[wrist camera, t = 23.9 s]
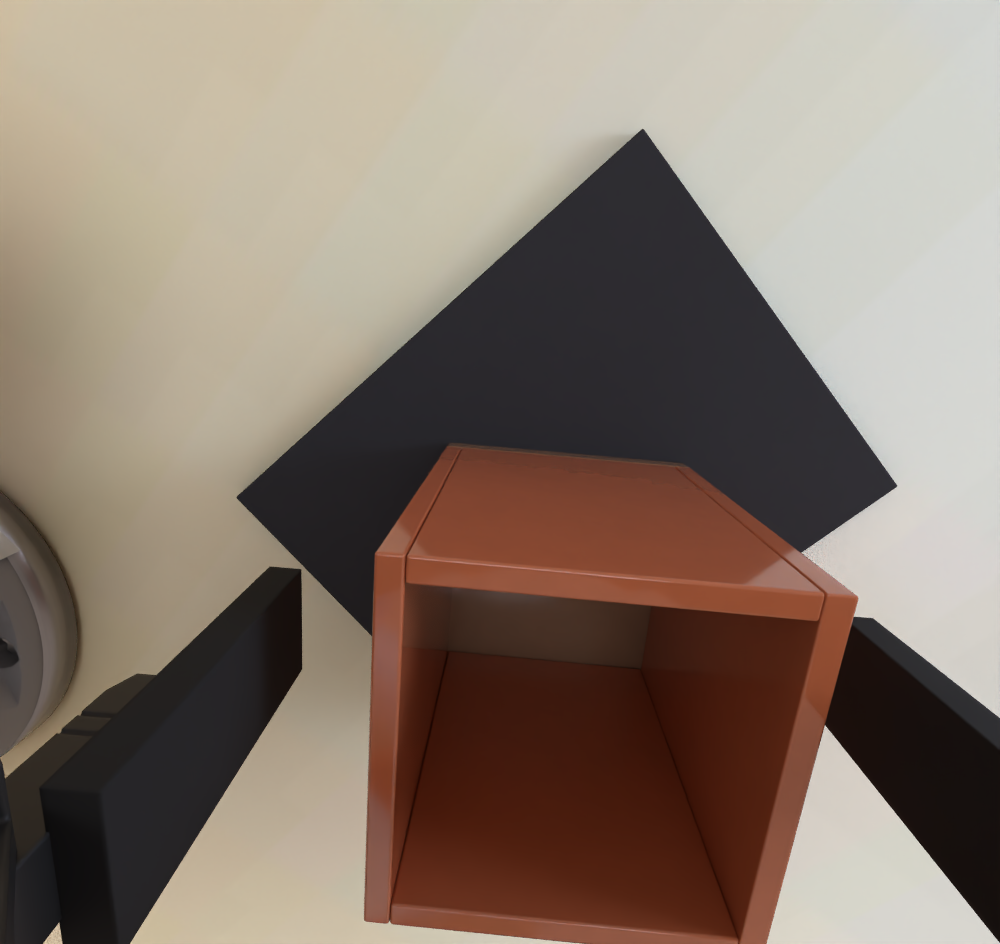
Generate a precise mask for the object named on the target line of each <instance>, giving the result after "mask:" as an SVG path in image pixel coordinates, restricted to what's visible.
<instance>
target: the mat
mask: <svg viewBox="0 0 1000 944" xmlns="http://www.w3.org/2000/svg"><path fill="white" fill-rule="evenodd" d="M449 443H461V444H472V445H484V446H495V447H506V448H517V449H529V450H540V451H551V452H562V453H573V454H585V455H596V456H607V457H618V458H629V459H641V460H652V461H663V462H674V463H683V464H685V465H686V466H687V467H689V468H691V469H692V470H693V471H695V472H696V473H697V474H699V475H700V476H701V477H702V478H704V479H705V480H706V481H708V482H709V483H710V484H712V485H713V486H714V487H716V488H717V489H718V490H719V491H721V492H722V493H723V494H725V495H726V496H727V497H729V498H730V499H731V500H733V501H734V502H735V503H736V504H738V505H739V506H740V507H742V508H743V509H744V510H746V511H747V512H748V513H749V514H751V515H752V516H753V517H755V518H756V519H757V520H759V521H760V522H761V523H763V524H764V525H765V526H766V527H768V528H769V529H770V530H772V531H773V532H774V533H776V534H777V535H778V536H780V537H781V538H782V539H783V540H785V541H786V542H787V543H789V544H790V545H791V546H793V547H794V548H795V549H797V550H798V551H799V552H800V553H801V552H803V551H804V550H806V549H807V548H809V547H810V546H812V545H813V544H814V543H816V542H817V541H819V540H820V539H822V538H823V537H825V536H826V535H828V534H829V533H830V532H832V531H833V530H835V529H836V528H838V527H839V526H841V525H842V524H843V523H845V522H846V521H848V520H849V519H851V518H852V517H854V516H855V515H857V514H858V513H859V512H861V511H862V510H864V509H865V508H867V507H868V506H870V505H871V504H873V503H874V502H875V501H877V500H878V499H880V498H881V497H883V496H884V495H886V494H887V493H889V492H890V491H891V490H893V489H894V488H896V487H897V485H896V483H895V482H894V480H893V479H892V478H891V476H890V475H889V473H888V472H887V471H886V469H885V468H884V466H883V465H882V464H881V462H880V461H879V459H878V458H877V457H876V455H875V454H874V452H873V451H872V450H871V448H870V447H869V445H868V444H867V443H866V441H865V440H864V438H863V437H862V435H861V434H860V433H859V431H858V430H857V428H856V427H855V426H854V424H853V423H852V421H851V420H850V419H849V417H848V416H847V414H846V413H845V412H844V410H843V409H842V407H841V406H840V405H839V403H838V402H837V400H836V399H835V398H834V396H833V395H832V393H831V392H830V391H829V389H828V388H827V386H826V385H825V383H824V382H823V381H822V379H821V378H820V376H819V375H818V374H817V372H816V371H815V369H814V368H813V367H812V365H811V364H810V362H809V361H808V360H807V358H806V357H805V355H804V354H803V353H802V351H801V350H800V348H799V347H798V346H797V344H796V343H795V341H794V340H793V339H792V337H791V336H790V334H789V333H788V331H787V330H786V329H785V327H784V326H783V324H782V323H781V322H780V320H779V319H778V317H777V316H776V315H775V313H774V312H773V310H772V309H771V308H770V306H769V305H768V303H767V302H766V301H765V299H764V298H763V296H762V295H761V294H760V292H759V291H758V289H757V288H756V287H755V285H754V284H753V282H752V281H751V279H750V278H749V277H748V275H747V274H746V272H745V271H744V270H743V268H742V267H741V265H740V264H739V263H738V261H737V260H736V258H735V257H734V256H733V254H732V253H731V251H730V250H729V249H728V247H727V246H726V244H725V243H724V242H723V240H722V239H721V237H720V236H719V235H718V233H717V232H716V230H715V229H714V227H713V226H712V225H711V223H710V222H709V220H708V219H707V218H706V216H705V215H704V213H703V212H702V211H701V209H700V208H699V206H698V205H697V204H696V202H695V201H694V199H693V198H692V197H691V195H690V194H689V192H688V191H687V190H686V188H685V187H684V185H683V184H682V183H681V181H680V180H679V178H678V177H677V175H676V174H675V173H674V171H673V170H672V168H671V167H670V166H669V164H668V163H667V161H666V160H665V159H664V157H663V156H662V154H661V153H660V152H659V150H658V149H657V147H656V146H655V145H654V143H653V142H652V140H651V139H650V138H649V136H648V135H647V133H646V132H645V130H644V129H642V130H641V131H639V132H638V133H637V134H636V135H635V136H634V137H633V138H632V139H631V140H630V141H628V142H627V143H626V144H625V145H624V146H623V147H622V148H621V149H620V150H619V151H617V152H616V153H615V154H614V155H613V156H612V157H611V158H610V159H609V160H608V161H606V162H605V163H604V164H603V165H602V166H601V167H600V168H599V169H598V170H596V171H595V172H594V173H593V174H592V175H591V176H590V177H589V178H588V179H587V180H585V181H584V182H583V183H582V184H581V185H580V186H579V187H578V188H577V189H576V190H574V191H573V192H572V193H571V194H570V195H569V196H568V197H567V198H566V199H565V200H563V201H562V202H561V203H560V204H559V205H558V206H557V207H556V208H555V209H554V210H552V211H551V212H550V213H549V214H548V215H547V216H546V217H545V218H544V219H542V220H541V221H540V222H539V223H538V224H537V225H536V226H535V227H534V228H533V229H531V230H530V231H529V232H528V233H527V234H526V235H525V236H524V237H523V238H522V239H520V240H519V241H518V242H517V243H516V244H515V245H514V246H513V247H512V248H511V249H509V250H508V251H507V252H506V253H505V254H504V255H503V256H502V257H501V258H500V259H498V260H497V261H496V262H495V263H494V264H493V265H492V266H491V267H490V268H488V269H487V270H486V271H485V272H484V273H483V274H482V275H481V276H480V277H479V278H477V279H476V280H475V281H474V282H473V283H472V284H471V285H470V286H469V287H468V288H466V289H465V290H464V291H463V292H462V293H461V294H460V295H459V296H458V297H457V298H455V299H454V300H453V301H452V302H451V303H450V304H449V305H448V306H447V307H446V308H444V309H443V310H442V311H441V312H440V313H439V314H438V315H437V316H436V317H434V318H433V319H432V320H431V321H430V322H429V323H428V324H427V325H426V326H425V327H423V328H422V329H421V330H420V331H419V332H418V333H417V334H416V335H415V336H414V337H412V338H411V339H410V340H409V341H408V342H407V343H406V344H405V345H404V346H403V347H401V348H400V349H399V350H398V351H397V352H396V353H395V354H394V355H393V356H392V357H390V358H389V359H388V360H387V361H386V362H385V363H384V364H383V365H382V366H380V367H379V368H378V369H377V370H376V371H375V372H374V373H373V374H372V375H371V376H369V377H368V378H367V379H366V380H365V381H364V382H363V383H362V384H361V385H360V386H358V387H357V388H356V389H355V390H354V391H353V392H352V393H351V394H350V395H349V396H347V397H346V398H345V399H344V400H343V401H342V402H341V403H340V404H339V405H337V406H336V407H335V408H334V409H333V410H332V411H331V412H330V413H329V414H328V415H326V416H325V417H324V418H323V419H322V420H321V421H320V422H319V423H318V424H317V425H315V426H314V427H313V428H312V429H311V430H310V431H309V432H308V433H307V434H306V435H304V436H303V437H302V438H301V439H300V440H299V441H298V442H297V443H296V444H295V445H293V446H292V447H291V448H290V449H289V450H288V451H287V452H286V453H285V454H283V455H282V456H281V457H280V458H279V459H278V460H277V461H276V462H275V463H274V464H272V465H271V466H270V467H269V468H268V469H267V470H266V471H265V472H264V473H263V474H261V475H260V476H259V477H258V478H257V479H256V480H255V481H254V482H253V483H252V484H250V485H249V486H248V487H247V488H246V489H245V490H244V491H243V492H242V493H241V494H239V495H238V496H237V499H238V500H239V501H240V502H241V503H242V504H243V505H244V506H245V507H246V508H247V509H248V510H249V511H250V512H251V513H252V514H253V515H254V516H255V517H256V518H257V519H258V520H259V521H260V522H261V523H262V524H263V525H264V526H265V527H266V528H267V529H268V530H269V531H270V533H271V534H272V535H273V536H274V537H275V538H276V539H277V540H278V541H279V542H280V543H281V544H282V545H283V546H284V547H285V548H286V549H287V550H288V551H289V552H290V553H291V554H292V555H293V556H294V557H295V558H296V559H297V560H298V561H299V562H300V563H301V564H302V565H303V566H304V567H305V568H306V569H307V570H308V571H309V572H310V573H311V574H312V575H313V576H314V577H315V578H316V579H317V580H318V581H319V583H320V584H321V585H322V586H323V587H324V588H325V589H326V590H327V591H328V592H329V593H330V594H331V595H332V596H333V597H334V598H335V599H336V600H337V601H338V602H339V603H340V604H341V605H342V606H343V607H344V608H345V609H346V610H347V611H348V612H349V613H350V614H351V615H352V616H353V617H354V618H355V619H356V620H357V621H358V622H359V623H360V624H361V625H362V626H363V627H364V628H365V629H366V630H367V631H368V633H369V634H370V635H371V636H372V625H373V591H374V558H375V552H376V551H377V549H378V548H379V546H380V545H381V543H382V542H383V540H384V539H385V537H386V536H387V534H388V533H389V531H390V530H391V528H392V527H393V525H394V524H395V522H396V521H397V519H398V518H399V516H400V515H401V514H402V512H403V511H404V509H405V508H406V506H407V505H408V503H409V502H410V500H411V499H412V497H413V496H414V494H415V493H416V491H417V490H418V488H419V487H420V485H421V484H422V482H423V481H424V479H425V478H426V476H427V475H428V473H429V472H430V470H431V469H432V467H433V466H434V464H435V463H436V461H437V460H438V458H439V457H440V455H441V454H442V452H443V451H444V449H445V448H446V447H447V445H448V444H449Z"/></svg>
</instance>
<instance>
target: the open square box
mask: <svg viewBox="0 0 1000 944" xmlns="http://www.w3.org/2000/svg"><path fill="white" fill-rule="evenodd" d="M857 602H858V596H857V595H855V594H854V593H853V592H851V591H850V590H849V589H847V588H846V587H845V586H844V585H842V584H841V583H840V582H838V581H837V580H836V579H834V578H833V577H832V576H830V575H829V574H828V573H827V572H825V571H824V570H823V569H821V568H820V567H819V566H817V565H816V564H815V563H813V562H812V561H811V560H810V559H808V558H807V557H806V556H804V555H803V554H802V553H800V552H799V551H798V550H797V549H795V548H794V547H793V546H791V545H790V544H789V543H787V542H786V541H785V540H783V539H782V538H781V537H780V536H778V535H777V534H776V533H774V532H773V531H772V530H770V529H769V528H768V527H766V526H765V525H764V524H763V523H761V522H760V521H759V520H757V519H756V518H755V517H753V516H752V515H751V514H749V513H748V512H747V511H746V510H744V509H743V508H742V507H740V506H739V505H738V504H736V503H735V502H734V501H733V500H731V499H730V498H729V497H727V496H726V495H725V494H723V493H722V492H721V491H719V490H718V489H717V488H716V487H714V486H713V485H712V484H710V483H709V482H708V481H706V480H705V479H704V478H702V477H701V476H700V475H699V474H697V473H696V472H695V471H693V470H692V469H691V468H689V467H687V466H686V465H685V464H683V463H674V462H663V461H652V460H641V459H629V458H618V457H607V456H596V455H585V454H573V453H562V452H551V451H540V450H529V449H517V448H506V447H495V446H484V445H472V444H461V443H449V444H448V445H447V447H446V448H445V449H444V451H443V452H442V454H441V455H440V457H439V458H438V460H437V461H436V463H435V464H434V466H433V467H432V469H431V470H430V472H429V473H428V475H427V476H426V478H425V479H424V481H423V482H422V484H421V485H420V487H419V488H418V490H417V491H416V493H415V494H414V496H413V497H412V499H411V500H410V502H409V503H408V505H407V506H406V508H405V509H404V511H403V512H402V514H401V515H400V516H399V518H398V519H397V521H396V522H395V524H394V525H393V527H392V528H391V530H390V531H389V533H388V534H387V536H386V537H385V539H384V540H383V542H382V543H381V545H380V546H379V548H378V549H377V551H376V552H375V558H374V591H373V625H372V658H371V692H370V726H369V759H368V793H367V826H366V860H365V894H364V920H365V921H366V922H376V923H388V922H389V921H390V922H391V924H395V925H405V926H415V927H425V928H435V929H445V930H454V931H464V932H474V933H484V934H494V935H503V936H513V937H523V938H533V939H543V940H553V941H562V942H572V943H582V944H766V943H767V939H768V936H769V932H770V928H771V924H772V921H773V917H774V913H775V909H776V906H777V902H778V898H779V894H780V891H781V887H782V883H783V879H784V876H785V872H786V868H787V864H788V861H789V857H790V853H791V849H792V846H793V842H794V838H795V834H796V831H797V827H798V823H799V819H800V816H801V812H802V808H803V804H804V801H805V797H806V793H807V790H808V786H809V782H810V778H811V775H812V771H813V767H814V763H815V760H816V756H817V752H818V748H819V745H820V741H821V737H822V733H823V730H824V726H825V722H826V718H827V715H828V711H829V707H830V703H831V700H832V696H833V692H834V688H835V685H836V681H837V677H838V673H839V670H840V666H841V662H842V658H843V655H844V651H845V647H846V643H847V640H848V636H849V632H850V628H851V625H852V621H853V617H854V613H855V610H856V606H857Z"/></svg>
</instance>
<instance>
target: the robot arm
mask: <svg viewBox="0 0 1000 944" xmlns="http://www.w3.org/2000/svg"><path fill="white" fill-rule="evenodd" d="M76 655H77V623H76V617H75V611H74V606H73V602H72V599H71V595H70V592H69V589H68V586H67V584H66V581H65V578H64V576H63V573H62V571H61V569H60V567H59V565H58V563H57V561H56V559H55V557H54V556H53V554H52V552H51V551H50V549H49V547H48V546H47V544H46V542H45V541H44V540H43V538H42V537H41V535H40V534H39V533H38V531H37V530H36V528H35V527H34V526H33V525H32V524H31V522H30V521H29V520H28V519H27V518H26V516H25V515H24V514H23V513H22V512H21V511H20V510H19V509H18V508H17V507H16V506H15V505H14V504H13V503H12V502H11V501H10V500H9V499H8V498H7V497H6V496H5V495H4V494H2V493H1V492H0V757H1V756H3V755H4V754H5V753H7V752H8V751H9V750H10V749H12V748H13V747H14V746H15V745H16V744H18V743H19V742H20V741H21V740H23V739H24V738H25V737H26V736H28V735H29V734H30V733H31V732H33V731H34V730H35V729H36V728H37V727H39V726H40V725H41V724H42V723H43V722H44V721H45V720H46V719H47V718H48V717H49V716H50V715H51V714H52V712H53V711H54V710H55V709H56V707H57V706H58V705H59V703H60V701H61V700H62V698H63V696H64V694H65V693H66V690H67V688H68V686H69V683H70V681H71V678H72V674H73V671H74V667H75V661H76ZM301 670H302V583H301V569H292V568H280V567H269V568H268V569H267V570H266V571H265V572H264V573H263V574H262V575H261V576H260V577H259V578H257V579H256V580H255V581H254V582H253V583H252V584H251V585H250V586H249V587H248V588H247V589H246V590H245V591H244V592H243V593H242V594H241V595H240V596H239V597H238V598H237V599H236V600H235V601H233V602H232V603H231V604H230V605H229V606H228V607H227V608H226V609H225V610H224V611H223V612H222V613H221V614H220V615H219V616H218V617H217V618H216V619H215V620H214V621H213V622H212V623H210V624H209V625H208V626H207V627H206V628H205V629H204V630H203V631H202V632H201V633H200V634H199V635H198V636H197V637H196V638H195V639H194V640H193V641H192V642H191V643H190V644H189V645H188V646H186V647H185V648H184V649H183V650H182V651H181V652H180V653H179V654H178V655H177V656H176V657H175V658H174V659H173V660H172V661H171V662H170V663H169V664H168V665H167V666H166V667H165V668H163V669H162V670H161V671H160V672H159V673H158V674H157V675H146V674H136V675H134V676H132V677H130V678H128V679H126V680H124V681H123V682H121V683H119V684H117V685H115V686H113V687H111V688H109V689H108V690H106V691H105V692H103V693H102V694H101V695H100V696H99V697H98V698H97V699H95V700H94V701H93V702H92V703H91V704H90V705H89V706H87V707H86V708H85V709H84V710H83V711H82V714H81V715H80V716H78V715H77V716H76V717H75V718H74V719H73V720H71V721H70V722H69V723H68V724H67V725H66V726H65V727H63V728H62V731H61V733H60V734H55V735H54V736H53V737H52V738H51V739H50V740H49V741H47V742H46V743H45V744H44V745H43V746H42V747H41V748H39V749H38V750H37V751H36V752H35V753H34V754H33V755H31V756H30V757H29V758H28V759H27V760H26V761H25V762H24V763H22V764H21V765H20V766H19V767H18V768H17V769H16V770H14V771H13V772H12V773H11V774H10V775H9V776H8V777H6V778H5V776H4V770H3V764H2V762H1V759H0V944H43V942H44V941H45V940H46V939H47V937H48V936H49V935H50V933H51V932H52V931H53V929H54V928H55V927H56V926H57V924H58V923H60V929H61V936H62V942H63V944H130V942H131V941H132V939H133V938H134V936H135V934H136V933H137V931H138V930H139V928H140V927H141V925H142V923H143V922H144V920H145V919H146V917H147V915H148V914H149V912H150V911H151V909H152V907H153V906H154V904H155V903H156V901H157V899H158V898H159V896H160V895H161V893H162V891H163V890H164V888H165V887H166V885H167V884H168V882H169V880H170V879H171V877H172V876H173V874H174V872H175V871H176V869H177V868H178V866H179V864H180V863H181V861H182V860H183V858H184V856H185V855H186V853H187V852H188V850H189V849H190V847H191V845H192V844H193V842H194V841H195V839H196V837H197V836H198V834H199V833H200V831H201V829H202V828H203V826H204V825H205V823H206V821H207V820H208V818H209V817H210V815H211V813H212V812H213V810H214V809H215V807H216V806H217V804H218V802H219V801H220V799H221V798H222V796H223V794H224V793H225V791H226V790H227V788H228V786H229V785H230V783H231V782H232V780H233V778H234V777H235V775H236V774H237V772H238V770H239V769H240V767H241V766H242V764H243V763H244V761H245V759H246V758H247V756H248V755H249V753H250V751H251V750H252V748H253V747H254V745H255V743H256V742H257V740H258V739H259V737H260V735H261V734H262V732H263V731H264V729H265V727H266V726H267V724H268V723H269V721H270V720H271V718H272V716H273V715H274V713H275V712H276V710H277V708H278V707H279V705H280V704H281V702H282V700H283V699H284V697H285V696H286V694H287V692H288V691H289V689H290V688H291V686H292V684H293V683H294V681H295V680H296V678H297V677H298V675H299V673H300V672H301ZM825 725H826V727H827V728H828V729H829V730H830V732H831V733H832V734H833V735H834V737H835V738H836V739H837V740H838V742H839V743H840V744H841V745H842V747H843V748H844V749H845V750H846V752H847V753H848V754H849V755H850V757H851V758H852V759H853V760H854V762H855V763H856V764H857V765H858V767H859V768H860V769H861V770H862V772H863V773H864V774H865V775H866V777H867V778H868V779H869V780H870V782H871V783H872V784H873V785H874V787H875V788H876V789H877V790H878V792H879V793H880V794H881V795H882V797H883V798H884V799H885V800H886V802H887V803H888V804H889V805H890V807H891V808H892V809H893V810H894V811H895V813H896V814H897V815H898V816H899V818H900V819H901V820H902V821H903V823H904V824H905V825H906V826H907V828H908V829H909V830H910V831H911V833H912V834H913V835H914V836H915V838H916V839H917V840H918V841H919V843H920V844H921V845H922V846H923V848H924V849H925V850H926V851H927V853H928V854H929V855H930V856H931V858H932V859H933V860H934V861H935V863H936V864H937V865H938V866H939V868H940V869H941V870H942V871H943V873H944V874H945V875H946V876H947V878H948V879H949V880H950V881H951V883H952V884H953V885H954V886H955V888H956V889H957V890H958V891H959V893H960V894H961V895H962V896H963V898H964V899H965V900H966V901H967V903H968V904H969V905H970V906H971V908H972V909H973V910H974V911H975V913H976V914H977V915H978V916H979V917H980V919H981V920H982V921H983V922H984V924H985V925H986V926H987V927H988V929H989V930H990V931H991V932H992V934H993V935H994V936H995V937H996V939H997V940H998V941H999V942H1000V718H999V717H998V716H996V715H995V714H994V713H993V712H991V711H990V710H989V709H987V708H986V707H985V706H984V705H982V704H981V703H980V702H979V701H977V700H976V699H975V698H973V697H972V696H971V695H970V694H968V693H967V692H966V691H965V690H963V689H962V688H961V687H959V686H958V685H957V684H956V683H954V682H953V681H952V680H951V679H949V678H948V677H947V676H946V675H944V674H943V673H942V672H940V671H939V670H938V669H937V668H935V667H934V666H933V665H932V664H930V663H929V662H928V661H926V660H925V659H924V658H923V657H921V656H920V655H919V654H918V653H916V652H915V651H914V650H912V649H911V648H910V647H909V646H907V645H906V644H905V643H904V642H902V641H901V640H900V639H898V638H897V637H896V636H895V635H893V634H892V633H891V632H890V631H888V630H887V629H886V628H884V627H883V626H882V625H881V624H879V623H878V622H877V621H876V620H874V619H873V618H863V617H853V621H852V625H851V628H850V632H849V636H848V640H847V643H846V647H845V651H844V655H843V658H842V662H841V666H840V670H839V673H838V677H837V681H836V685H835V688H834V692H833V696H832V700H831V703H830V707H829V711H828V715H827V718H826V722H825Z"/></svg>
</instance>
